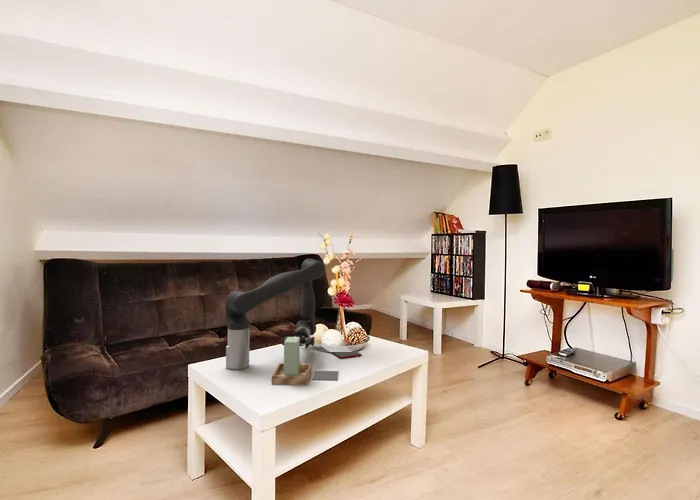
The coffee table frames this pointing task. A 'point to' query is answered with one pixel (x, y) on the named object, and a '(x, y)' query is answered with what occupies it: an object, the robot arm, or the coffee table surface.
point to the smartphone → (346, 354)
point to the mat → (325, 375)
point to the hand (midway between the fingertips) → (296, 345)
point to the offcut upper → (301, 365)
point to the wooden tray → (301, 379)
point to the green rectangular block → (291, 356)
